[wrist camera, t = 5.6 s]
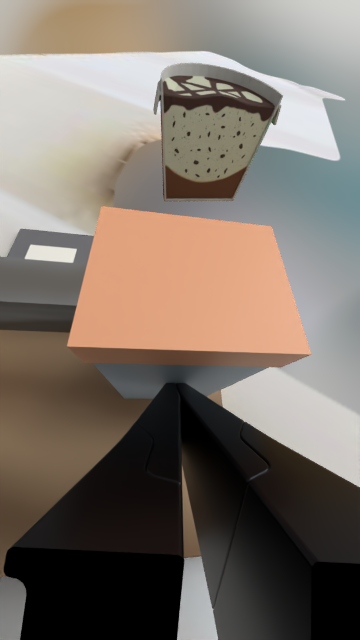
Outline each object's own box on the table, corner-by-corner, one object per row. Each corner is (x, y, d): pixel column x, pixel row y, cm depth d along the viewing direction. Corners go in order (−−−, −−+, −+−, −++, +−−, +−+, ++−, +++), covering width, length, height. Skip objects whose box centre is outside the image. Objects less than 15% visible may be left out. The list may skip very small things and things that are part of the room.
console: (227, 538, 12) (280, 615, 7) (-246, 582, 9) (-689, 760, 4) (207, 314, 19) (229, 275, 14) (-68, 298, 16) (-162, 243, 11)
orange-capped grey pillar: (203, 400, 14) (311, 354, 5) (122, 400, 13) (66, 346, 4) (199, 340, 16) (271, 226, 7) (129, 338, 15) (101, 206, 6)
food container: (228, 173, 30) (262, 70, 21) (243, 200, 28) (288, 96, 19) (144, 171, 28) (143, 52, 19) (152, 201, 25) (155, 79, 16)
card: (164, 311, 18) (164, 309, 18) (-11, 302, 16) (-15, 298, 16) (166, 246, 22) (166, 242, 21) (22, 232, 20) (20, 227, 20)
